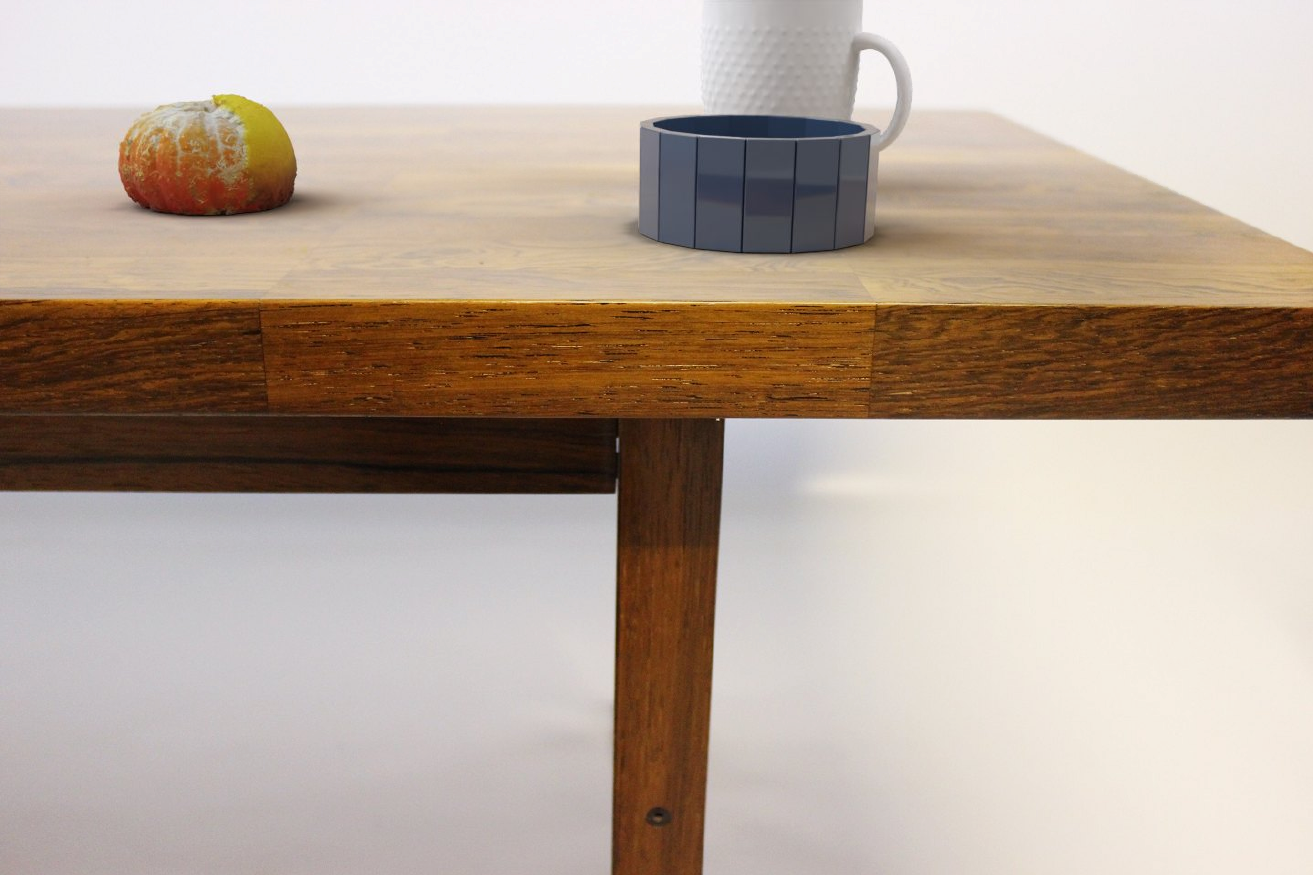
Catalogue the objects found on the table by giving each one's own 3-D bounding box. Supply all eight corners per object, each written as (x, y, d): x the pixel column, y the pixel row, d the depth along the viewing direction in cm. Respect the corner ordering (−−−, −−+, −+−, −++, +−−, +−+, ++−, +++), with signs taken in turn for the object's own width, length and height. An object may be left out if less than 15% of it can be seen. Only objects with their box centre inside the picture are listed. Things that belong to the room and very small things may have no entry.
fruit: (135, 182, 90) (160, 63, 88) (293, 228, 92) (321, 113, 90) (86, 206, 79) (113, 71, 77) (265, 257, 81) (296, 127, 79)
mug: (920, 183, 98) (935, -6, 94) (885, 205, 88) (900, -5, 84) (726, 169, 103) (732, -11, 99) (673, 189, 94) (678, -10, 89)
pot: (893, 220, 83) (900, 121, 81) (840, 261, 71) (847, 145, 69) (684, 204, 88) (686, 109, 86) (602, 240, 76) (602, 131, 74)
